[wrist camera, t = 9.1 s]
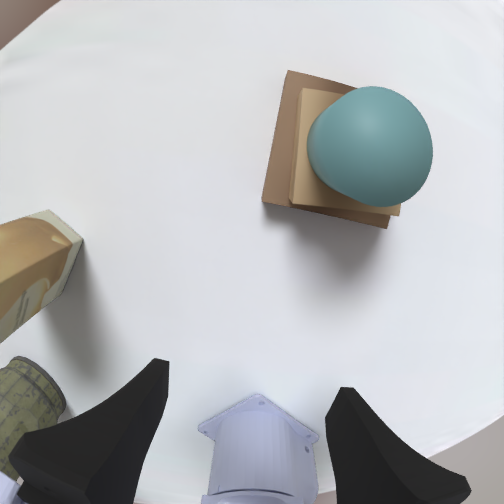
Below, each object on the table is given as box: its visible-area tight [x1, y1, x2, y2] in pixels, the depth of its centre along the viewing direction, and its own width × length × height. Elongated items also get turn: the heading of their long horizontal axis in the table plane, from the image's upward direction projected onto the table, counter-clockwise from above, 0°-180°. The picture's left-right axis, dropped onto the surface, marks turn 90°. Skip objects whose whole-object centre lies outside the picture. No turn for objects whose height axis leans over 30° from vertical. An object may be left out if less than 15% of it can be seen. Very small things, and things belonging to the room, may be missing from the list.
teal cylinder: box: [307, 86, 433, 207], centre depth 12 cm, size 5×5×4 cm
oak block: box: [289, 88, 401, 216], centre depth 15 cm, size 6×6×2 cm
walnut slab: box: [262, 70, 390, 229], centre depth 17 cm, size 8×8×2 cm
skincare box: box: [0, 210, 83, 343], centre depth 14 cm, size 6×4×12 cm
